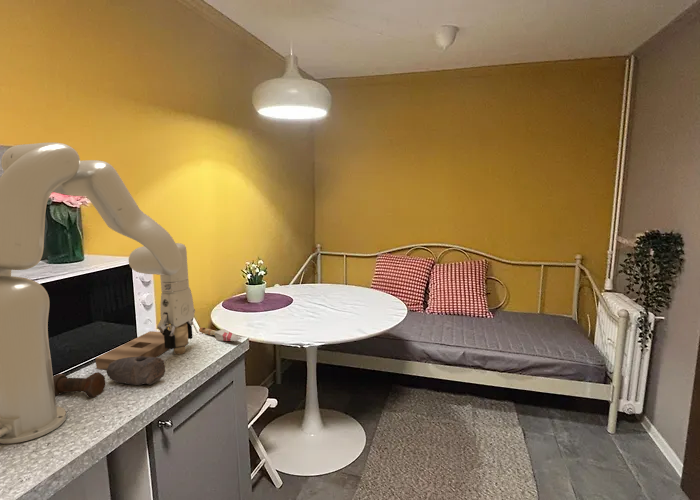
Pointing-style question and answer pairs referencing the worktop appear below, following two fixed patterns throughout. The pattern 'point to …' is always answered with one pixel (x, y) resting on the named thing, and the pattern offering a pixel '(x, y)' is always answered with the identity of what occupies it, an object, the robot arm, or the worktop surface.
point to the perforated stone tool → (136, 370)
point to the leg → (180, 338)
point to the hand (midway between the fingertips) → (179, 342)
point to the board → (134, 349)
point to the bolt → (80, 384)
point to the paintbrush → (220, 334)
